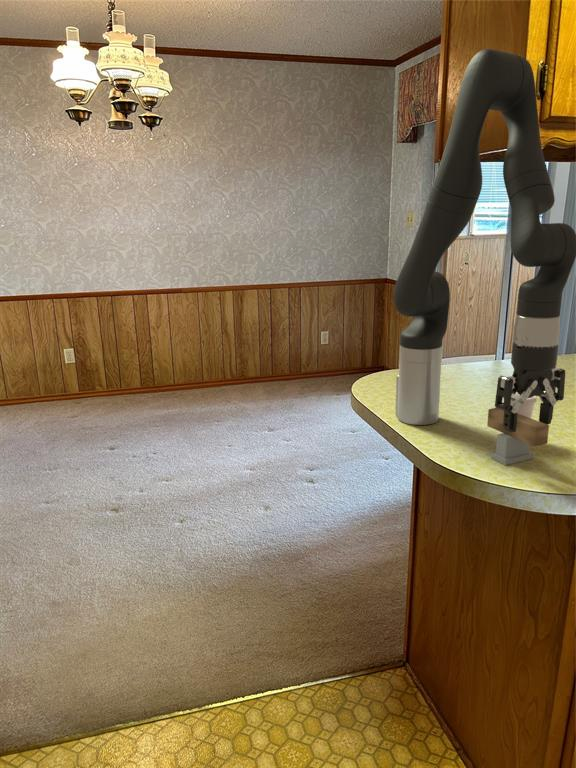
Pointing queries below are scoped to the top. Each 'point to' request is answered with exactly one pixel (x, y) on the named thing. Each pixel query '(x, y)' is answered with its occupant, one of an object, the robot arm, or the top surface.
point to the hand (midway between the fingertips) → (527, 427)
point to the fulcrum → (511, 450)
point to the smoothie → (526, 406)
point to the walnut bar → (520, 427)
